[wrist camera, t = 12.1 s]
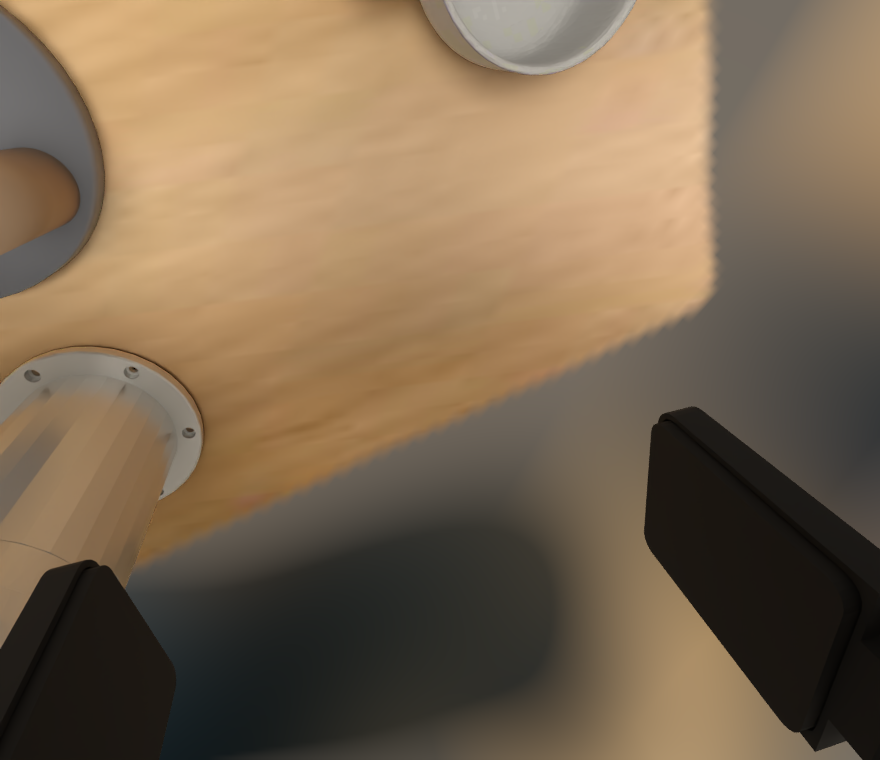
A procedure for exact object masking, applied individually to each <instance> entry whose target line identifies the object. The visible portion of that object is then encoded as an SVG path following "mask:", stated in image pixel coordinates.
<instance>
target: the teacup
mask: <svg viewBox="0 0 880 760" xmlns="http://www.w3.org/2000/svg"><path fill="white" fill-rule="evenodd" d="M635 2H636V0H420V3H421V5H422V7H423V10H424V12H425V14H426V16H427V18H428V20H429V21H430V23H431V25H432V26H433V28H434V29H435V31H436V32H437V34H438V35H439V36H440V38H441V39H442V40H443V41H444V42H445V43H446V44H447V45H448V46H449V47H450V48H451V49H452V50H454V51H455V52H456V53H458V54H459V55H460V56H462V57H463V58H465V59H467V60H468V61H470V62H473V63H475V64H477V65H480V66H483V67H487V68H490V69H495V70H501V71H509V72H515V73H519V74H525V75H546V74H553V73H557V72H560V71H564V70H566V69H568V68H571V67H573V66H575V65H577V64H579V63H581V62H583V61H584V60H586V59H587V58H589V57H590V56H591V55H593V54H594V53H595V52H596V51H598V50H599V49H600V48H601V47H603V46H604V45H605V44H606V43H607V42H608V41H609V40H610V38H611V37H612V36H613V35H614V34H615V33H616V31H617V30H618V29H619V27H620V26H621V25H622V23H623V22H624V21H625V19H626V18H627V16H628V14H629V13H630V11H631V10H632V8H633V6H634V4H635Z"/></svg>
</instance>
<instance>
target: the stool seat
mask: <svg viewBox="0 0 880 760" xmlns="http://www.w3.org/2000/svg"><path fill="white" fill-rule="evenodd" d="M103 196H104V165H103V157H102V151H101V147H100V143H99V139H98V136H97V132H96V129H95V127H94V124H93V122H92V119H91V117H90V114H89V112H88V109H87V107H86V105H85V103H84V102H83V100H82V98H81V96H80V94H79V92H78V90H77V88H76V87H75V85H74V84H73V82H72V81H71V79H70V78H69V76H68V75H67V73H66V72H65V70H64V69H63V67H62V66H61V65H60V63H59V62H58V61H57V60H56V59H55V57H54V56H53V55H52V54H51V53H50V51H49V50H48V49H47V48H46V47H45V45H44V44H43V43H42V42H41V41H40V40H39V39H38V38H37V37H36V36H35V35H34V34H33V33H32V32H31V31H30V30H29V29H28V28H27V27H26V26H25V25H24V24H23V23H21V22H20V21H19V20H18V19H17V18H15V17H14V16H13V15H12V14H11V13H9V12H8V11H7V10H6V9H4V8H3V7H2V6H1V5H0V298H3V297H6V296H9V295H12V294H15V293H19V292H21V291H23V290H25V289H27V288H30V287H32V286H34V285H36V284H38V283H39V282H41V281H42V280H44V279H45V278H47V277H48V276H50V275H52V274H53V273H54V272H56V271H57V270H59V269H60V268H62V267H63V266H65V265H66V264H67V263H68V262H69V261H71V260H72V259H73V258H74V257H75V256H76V255H77V254H78V253H79V252H80V250H81V249H82V248H83V246H84V245H85V244H86V242H87V241H88V240H89V238H90V236H91V234H92V232H93V230H94V228H95V226H96V224H97V221H98V218H99V215H100V212H101V209H102V202H103Z"/></svg>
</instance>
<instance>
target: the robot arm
mask: <svg viewBox="0 0 880 760" xmlns="http://www.w3.org/2000/svg"><path fill="white" fill-rule="evenodd" d="M132 367H135V368H136V369H137V370H134V369H133V368H132ZM36 371H37V372H36ZM38 372H39V373H38ZM190 428H192V429H190ZM203 435H204V428H203V424H202V419H201V415H200V413H199V410H198V408H197V406H196V404H195V402H194V400H193V399H192V397H191V396H190V395H189V393H188V392H187V391H186V389H185V388H184V387H183V386H182V385H181V384H180V383H179V382H178V381H177V380H176V379H175V378H174V377H173V376H172V375H170V374H169V373H167V372H166V371H164V370H163V369H161V368H160V367H158V366H157V365H155V364H154V363H152V362H149V361H147V360H145V359H143V358H140V357H138V356H136V355H133V354H130V353H126V352H123V351H119V350H116V349H109V348H101V347H94V346H90V347H69V348H63V349H58V350H53V351H49V352H47V353H44V354H41V355H39V356H36V357H34V358H32V359H30V360H29V361H27V362H25V363H24V364H22V365H21V366H19V367H18V368H16V369H15V370H14V371H13V372H12V373H11V374H10V375H9V376H8V377H6V378H5V379H4V380H3V382H2V383H1V384H0V760H159V757H160V753H161V748H162V744H163V740H164V735H165V731H166V727H167V722H168V718H169V714H170V709H171V705H172V701H173V696H174V692H175V687H176V674H175V669H174V666H173V664H172V662H171V661H170V659H169V657H168V656H167V654H166V653H165V651H164V650H163V648H162V647H161V645H160V644H159V642H158V640H157V639H156V637H155V636H154V634H153V633H152V631H151V630H150V628H149V626H148V625H147V623H146V622H145V620H144V619H143V617H142V616H141V614H140V613H139V611H138V610H137V608H136V606H135V605H134V603H133V602H132V600H131V599H130V597H129V596H128V594H127V592H126V591H125V588H126V585H127V582H128V580H129V577H130V574H131V572H132V569H133V566H134V564H135V561H136V558H137V556H138V553H139V550H140V548H141V545H142V542H143V540H144V537H145V534H146V532H147V529H148V526H149V524H150V521H151V518H152V516H153V513H154V510H155V508H156V505H157V502H158V501H159V500H161V499H163V498H165V497H166V496H168V495H170V494H171V493H173V492H175V491H176V490H177V489H178V488H179V487H180V486H181V485H182V484H184V483H185V482H186V481H187V479H188V478H189V476H190V475H191V474H192V472H193V471H194V469H195V467H196V465H197V462H198V460H199V457H200V454H201V450H202V446H203ZM644 535H645V539H646V542H647V545H648V547H649V549H650V550H651V552H652V553H653V554H654V555H655V557H656V558H657V560H658V561H659V562H660V564H661V565H662V566H663V568H664V569H665V570H666V571H667V573H668V574H669V575H670V577H671V578H672V579H673V581H674V582H675V583H676V584H677V586H678V587H679V588H680V590H681V591H682V592H683V594H684V595H685V596H686V597H687V599H688V600H689V602H690V603H691V604H692V605H693V607H694V608H695V610H696V611H697V612H698V613H699V615H700V616H701V617H702V619H703V620H704V621H705V623H706V624H707V625H708V626H709V628H710V629H711V630H712V632H713V633H714V634H715V636H716V637H717V638H718V640H719V641H720V642H721V644H722V645H723V646H724V648H725V649H726V650H727V651H728V653H729V654H730V655H731V657H732V658H733V659H734V661H735V662H736V663H737V665H738V666H739V667H740V668H741V670H742V671H743V672H744V674H745V675H746V676H747V678H748V679H749V680H750V681H751V683H752V684H753V685H754V687H755V688H756V689H757V691H758V692H759V693H760V695H761V696H762V697H763V699H764V700H765V701H766V703H767V704H768V705H769V706H770V708H771V709H772V710H773V712H774V713H775V714H776V716H777V717H778V718H779V720H780V721H781V722H782V723H783V724H784V725H785V726H786V727H787V728H788V729H789V730H791V731H793V732H800V733H801V734H802V736H803V737H804V738H805V739H806V741H807V742H808V743H809V745H810V746H811V747H812V748H813V749H814V751H815V752H816V751H819V750H822V749H824V748H827V747H830V746H833V745H836V744H839V743H841V742H844V741H847V742H848V743H849V744H850V745H851V747H852V748H853V749H854V750H855V751H856V753H857V754H858V755H859V756H860V757H861V758H862V760H880V549H879V548H877V547H876V546H875V545H874V544H872V543H871V542H870V541H869V540H867V539H866V538H865V537H864V536H862V535H861V534H860V533H858V532H857V531H856V530H855V529H853V528H852V527H851V526H849V525H848V524H847V523H846V522H844V521H843V520H842V519H840V518H839V517H838V516H836V515H835V514H834V513H833V512H831V511H830V510H829V509H828V508H826V507H825V506H824V505H823V504H821V503H820V502H819V501H817V500H816V499H815V498H814V497H812V496H811V495H810V494H808V493H807V492H806V491H805V490H803V489H802V488H801V487H799V486H798V485H797V484H796V483H794V482H793V481H792V480H790V479H789V478H788V477H787V476H785V475H784V474H783V473H782V472H780V471H779V470H778V469H776V468H775V467H774V466H773V465H771V464H770V463H769V462H767V461H766V460H765V459H764V458H762V457H761V456H760V455H759V454H757V453H756V452H755V451H753V450H752V449H751V448H749V447H748V446H747V445H746V444H744V443H743V442H742V441H741V440H739V439H738V438H737V437H735V436H734V435H733V434H731V433H730V432H729V431H728V430H727V429H725V428H724V427H723V426H721V425H720V424H719V423H718V422H716V421H715V420H714V419H712V418H711V417H710V416H709V415H707V414H706V413H705V412H703V411H702V410H701V409H699V408H697V407H688V408H684V409H680V410H676V411H672V412H668V413H664V414H662V415H661V416H660V418H659V421H658V424H655V425H654V426H653V427H652V431H651V443H650V457H649V471H648V485H647V499H646V513H645V526H644Z"/></svg>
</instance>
